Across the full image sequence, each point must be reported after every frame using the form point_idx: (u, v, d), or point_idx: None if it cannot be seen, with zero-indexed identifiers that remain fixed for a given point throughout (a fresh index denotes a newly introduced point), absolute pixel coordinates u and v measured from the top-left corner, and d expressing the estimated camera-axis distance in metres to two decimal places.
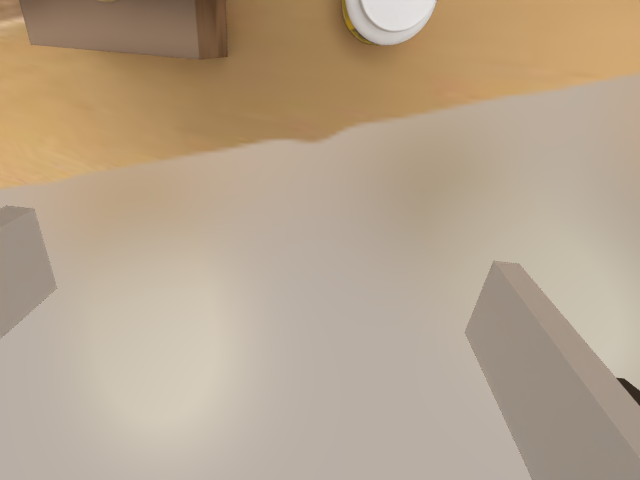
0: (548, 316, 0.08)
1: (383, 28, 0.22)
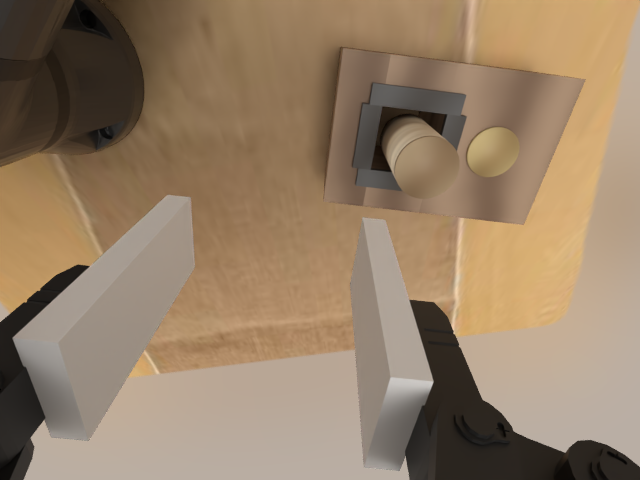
0: (381, 254, 0.10)
1: None
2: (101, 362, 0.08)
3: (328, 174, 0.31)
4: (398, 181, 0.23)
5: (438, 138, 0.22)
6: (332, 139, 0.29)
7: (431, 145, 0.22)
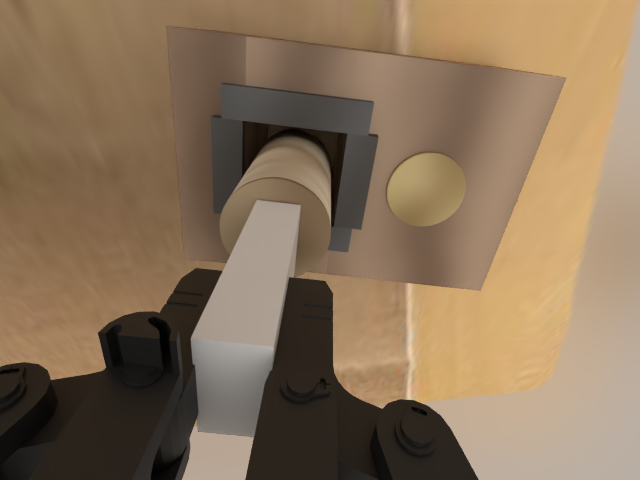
0: (280, 236, 0.10)
1: None
2: None
3: (183, 221, 0.20)
4: (230, 252, 0.14)
5: (284, 182, 0.12)
6: (179, 170, 0.19)
7: (274, 194, 0.12)
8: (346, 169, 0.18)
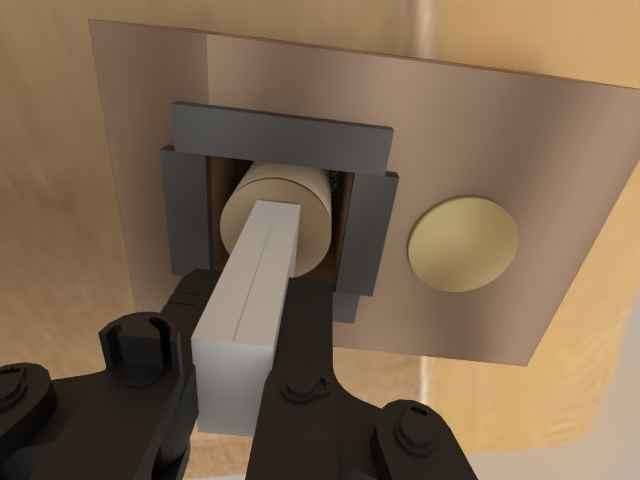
0: (280, 236, 0.10)
1: None
2: None
3: (134, 281, 0.15)
4: (231, 252, 0.14)
5: (284, 182, 0.12)
6: (123, 218, 0.14)
7: (274, 194, 0.12)
8: (353, 220, 0.13)
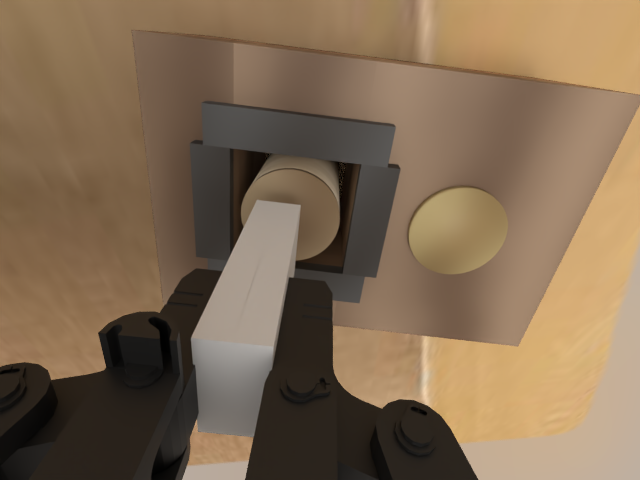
0: (280, 236, 0.10)
1: None
2: None
3: (161, 264, 0.17)
4: None
5: (299, 172, 0.14)
6: (154, 205, 0.16)
7: (290, 183, 0.14)
8: (359, 207, 0.15)
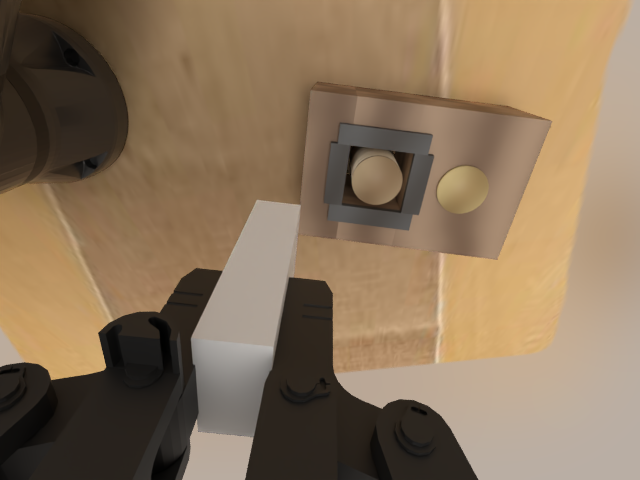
0: (280, 235, 0.10)
1: None
2: None
3: (300, 208, 0.31)
4: (355, 190, 0.29)
5: (384, 157, 0.28)
6: (303, 175, 0.30)
7: (379, 163, 0.28)
8: (412, 175, 0.29)
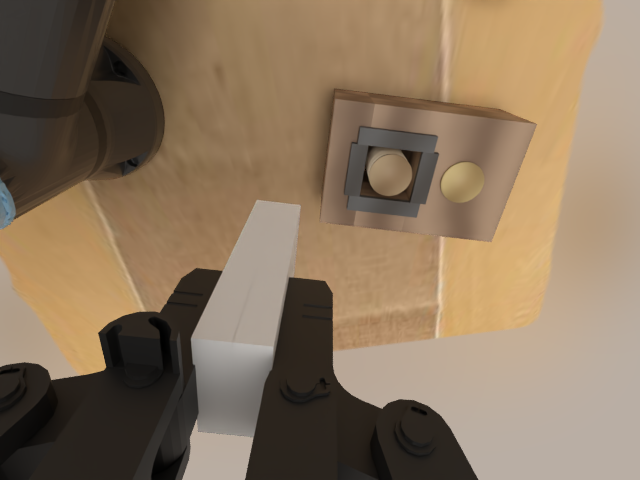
0: (280, 236, 0.10)
1: None
2: None
3: (323, 200, 0.36)
4: (371, 184, 0.34)
5: (397, 155, 0.33)
6: (327, 171, 0.35)
7: (392, 160, 0.33)
8: (420, 170, 0.34)
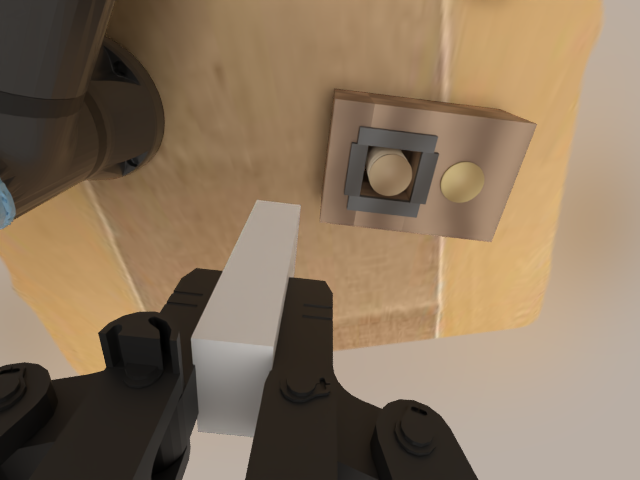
0: (280, 236, 0.10)
1: None
2: None
3: (323, 200, 0.36)
4: (371, 184, 0.34)
5: (397, 155, 0.33)
6: (327, 171, 0.35)
7: (392, 160, 0.33)
8: (420, 170, 0.34)
